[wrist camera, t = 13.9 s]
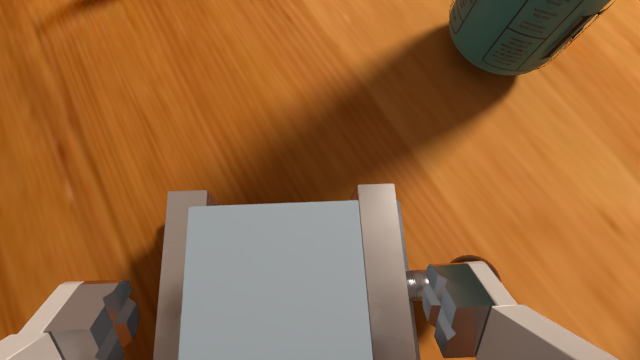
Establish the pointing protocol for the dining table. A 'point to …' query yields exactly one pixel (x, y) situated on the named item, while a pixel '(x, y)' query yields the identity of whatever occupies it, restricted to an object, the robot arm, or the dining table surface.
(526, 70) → the beverage bottle
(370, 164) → the dining table surface
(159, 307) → the vise
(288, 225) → the steel block
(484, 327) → the robot arm
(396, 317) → the free jaw
